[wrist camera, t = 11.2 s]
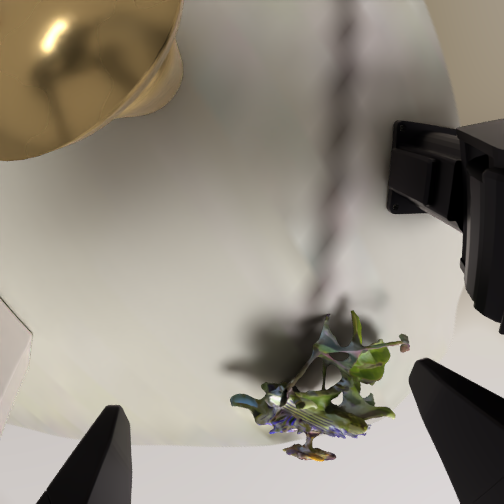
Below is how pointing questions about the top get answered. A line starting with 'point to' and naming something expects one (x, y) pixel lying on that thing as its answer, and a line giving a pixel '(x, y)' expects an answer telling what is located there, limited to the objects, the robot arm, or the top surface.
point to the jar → (12, 360)
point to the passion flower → (326, 394)
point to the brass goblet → (82, 68)
